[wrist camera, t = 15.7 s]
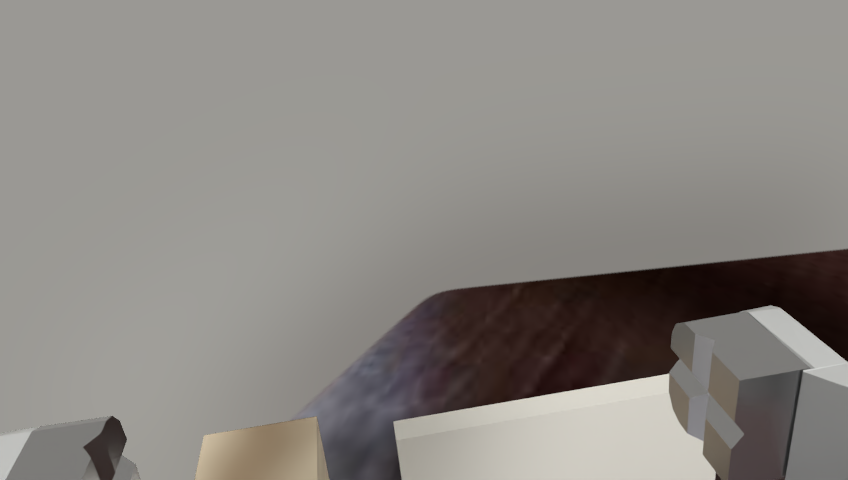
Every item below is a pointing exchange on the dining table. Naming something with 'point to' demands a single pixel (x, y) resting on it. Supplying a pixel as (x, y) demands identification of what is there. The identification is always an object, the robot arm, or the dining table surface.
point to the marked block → (265, 453)
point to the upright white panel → (557, 438)
